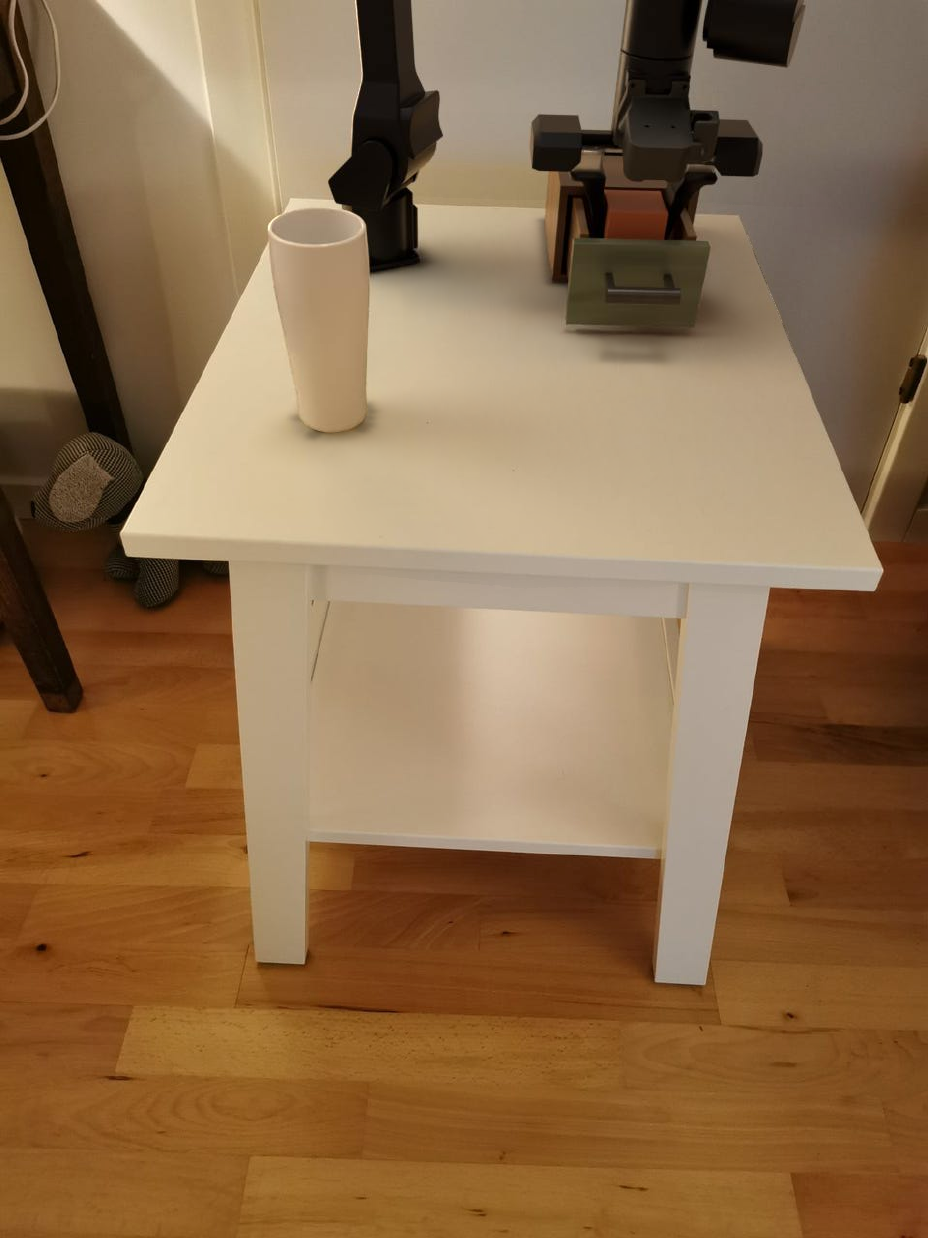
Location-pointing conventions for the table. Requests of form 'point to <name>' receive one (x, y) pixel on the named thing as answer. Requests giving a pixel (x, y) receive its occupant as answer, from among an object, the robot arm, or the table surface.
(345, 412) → the drinking glass
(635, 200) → the block
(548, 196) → the cabinet
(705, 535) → the table surface
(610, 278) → the drawer
